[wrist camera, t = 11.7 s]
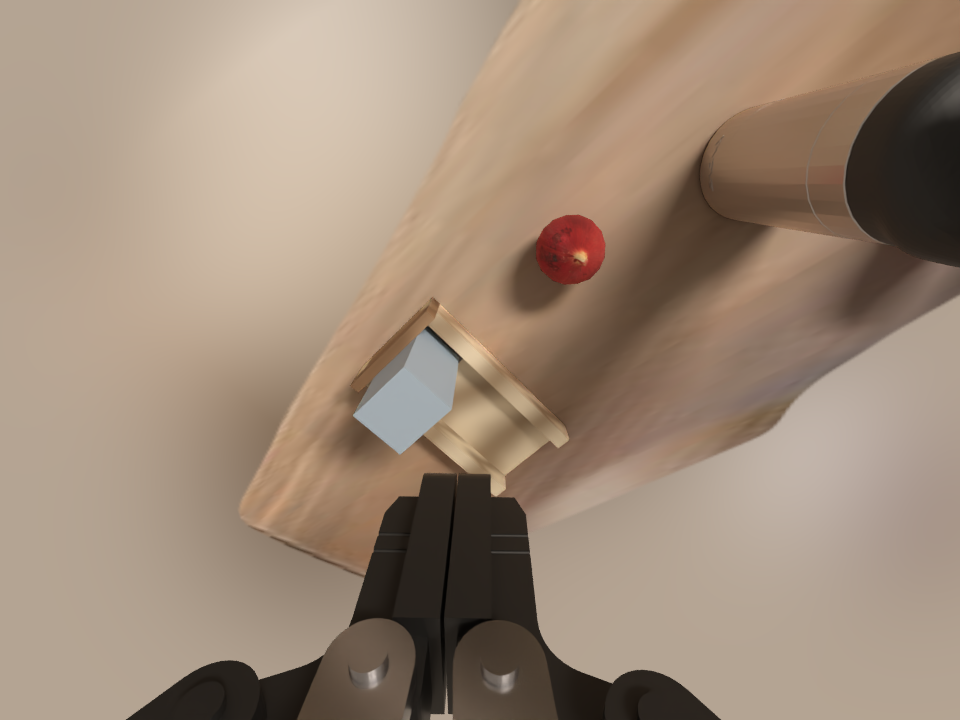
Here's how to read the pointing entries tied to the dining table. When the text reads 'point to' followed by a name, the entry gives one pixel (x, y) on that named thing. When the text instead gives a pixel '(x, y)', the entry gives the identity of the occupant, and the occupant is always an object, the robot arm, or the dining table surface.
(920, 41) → the dining table surface
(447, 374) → the block
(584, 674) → the robot arm
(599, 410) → the dining table surface
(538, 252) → the pomegranate
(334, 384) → the dining table surface
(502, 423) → the wooden tray frame
